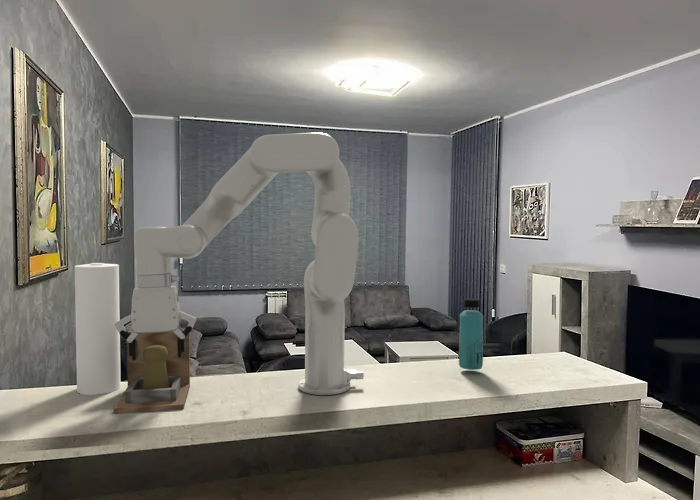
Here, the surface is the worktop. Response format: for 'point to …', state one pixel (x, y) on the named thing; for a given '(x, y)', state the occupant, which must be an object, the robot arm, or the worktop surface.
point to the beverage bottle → (471, 337)
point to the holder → (176, 371)
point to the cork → (155, 367)
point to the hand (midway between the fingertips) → (157, 357)
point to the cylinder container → (97, 328)
